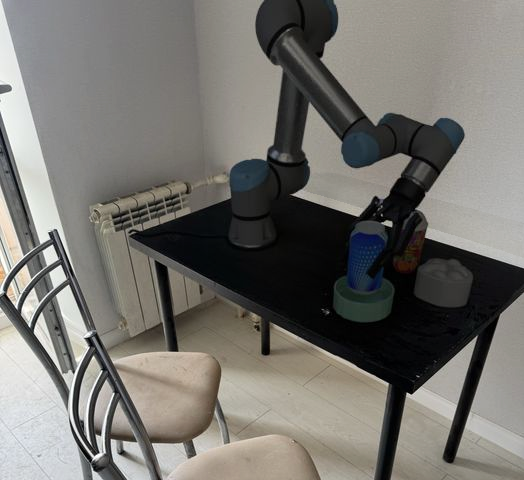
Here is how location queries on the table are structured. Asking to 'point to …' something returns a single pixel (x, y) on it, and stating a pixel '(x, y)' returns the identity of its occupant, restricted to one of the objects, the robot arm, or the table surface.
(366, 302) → the pale green round tub
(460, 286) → the lumpy-topped squat cylinder
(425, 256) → the table surface
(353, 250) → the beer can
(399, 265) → the smoothie
